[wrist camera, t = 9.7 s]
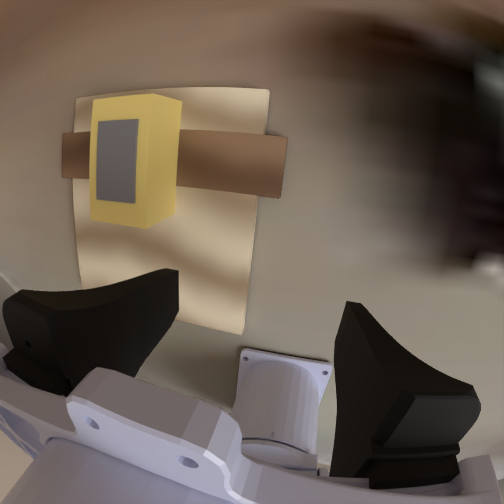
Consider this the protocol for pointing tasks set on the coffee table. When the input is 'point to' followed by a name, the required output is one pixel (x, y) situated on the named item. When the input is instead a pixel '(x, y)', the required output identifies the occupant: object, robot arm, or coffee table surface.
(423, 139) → the coffee table surface
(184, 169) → the subfloor
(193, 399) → the robot arm
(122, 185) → the stud finder
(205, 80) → the coffee table surface
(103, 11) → the coffee table surface
